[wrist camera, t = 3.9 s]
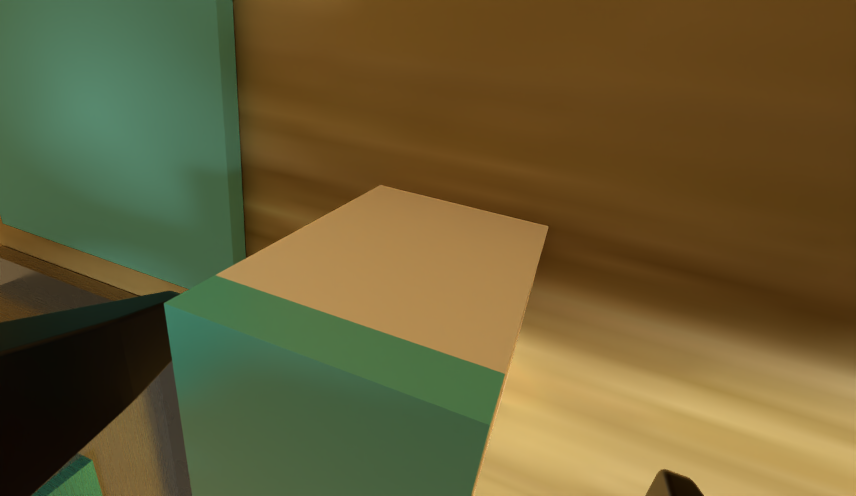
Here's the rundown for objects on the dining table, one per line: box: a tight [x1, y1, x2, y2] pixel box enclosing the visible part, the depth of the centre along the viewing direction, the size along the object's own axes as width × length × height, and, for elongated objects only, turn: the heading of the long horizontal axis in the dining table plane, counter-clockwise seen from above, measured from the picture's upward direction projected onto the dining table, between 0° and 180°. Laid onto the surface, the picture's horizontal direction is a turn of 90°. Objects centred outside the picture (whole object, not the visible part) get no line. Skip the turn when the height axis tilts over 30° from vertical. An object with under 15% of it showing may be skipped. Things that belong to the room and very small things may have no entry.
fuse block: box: [164, 185, 549, 496], centre depth 8 cm, size 4×5×6 cm
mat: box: [0, 0, 246, 289], centre depth 12 cm, size 10×12×1 cm
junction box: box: [0, 246, 192, 496], centre depth 15 cm, size 9×13×8 cm
